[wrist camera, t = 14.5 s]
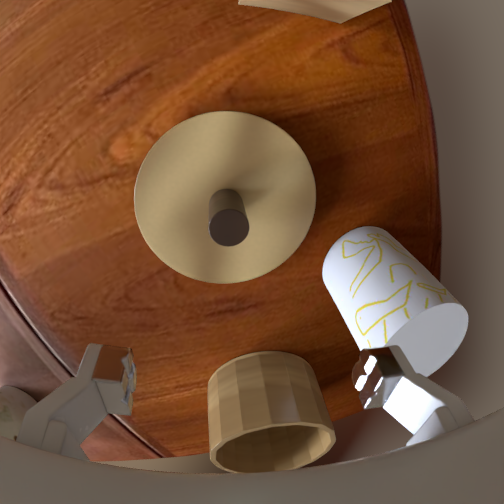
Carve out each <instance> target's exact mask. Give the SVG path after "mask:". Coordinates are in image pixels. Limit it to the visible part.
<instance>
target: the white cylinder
mask: <svg viewBox="0 0 504 504" xmlns="http://www.w3.org/2000/svg"><path fill="white" fill-rule="evenodd" d="M323 280H324V283H325V285H326V287H327V289H328V291H329V292H330V294H331V296H332V298H333V300H334V302H335V303H336V305H337V307H338V309H339V311H340V313H341V315H342V316H343V318H344V320H345V322H346V324H347V326H348V328H349V330H350V332H351V333H352V335H353V337H354V339H355V341H356V343H357V345H358V347H359V349H360V351H361V350H363V349H364V348H374V347H383V346H385V347H386V346H392V345H398V346H399V347H400V348H401V349H402V351H403V353H404V354H405V356H406V357H407V359H408V361H409V362H410V364H411V366H412V367H413V369H414V370H415V372H416V373H420V374H422V375H423V376H425V377H428V376H429V375H430V374H432V373H433V372H435V371H436V370H437V369H439V368H440V367H441V366H442V365H443V364H444V363H445V362H446V361H447V360H448V359H449V358H450V357H451V356H452V355H453V354H454V352H455V351H456V350H457V348H458V347H459V345H460V344H461V342H462V340H463V338H464V336H465V333H466V330H467V326H468V315H467V312H466V310H465V308H464V307H462V305H461V304H460V303H459V302H458V301H457V300H456V299H455V298H454V297H453V296H452V295H451V294H450V293H449V291H448V290H447V289H446V288H445V287H444V286H443V285H442V284H441V283H440V282H439V281H438V280H437V279H436V278H435V277H434V276H433V275H432V274H431V273H430V272H429V271H428V270H427V269H426V268H425V267H424V266H423V265H422V264H421V263H420V262H419V261H418V260H417V259H416V258H415V257H414V256H413V255H412V254H410V253H409V252H408V251H407V250H406V249H405V248H404V247H403V246H402V245H401V244H400V243H399V242H398V241H397V240H396V239H394V238H393V237H392V236H391V235H390V234H389V233H388V232H387V231H385V230H383V229H381V228H379V227H374V226H365V227H360V228H356V229H354V230H351V231H350V232H348V233H346V234H345V235H343V236H342V237H341V238H339V239H338V240H337V241H336V242H335V243H334V245H333V246H332V247H331V248H330V250H329V252H328V253H327V255H326V258H325V260H324V264H323Z"/></svg>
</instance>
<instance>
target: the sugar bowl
mask: <svg viewBox="0 0 504 504" xmlns="http://www.w3.org/2000/svg"><path fill="white" fill-rule="evenodd" d="M36 404H37V402H36V401H35V400H34V399H33V398H32V397H31V396H29V395H28V394H27V393H25V392H23V391H22V390H20V389H18V388H15V387H12V386H3V387H0V436H3V437H6V438H8V439H11V440H14V441H16V439H17V436H18V433H19V430H20V428H21V425H22V422H23V419H24V417H25V414H26V411H28V410H29V409H30V408H32V407H33V406H34V405H36Z"/></svg>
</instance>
